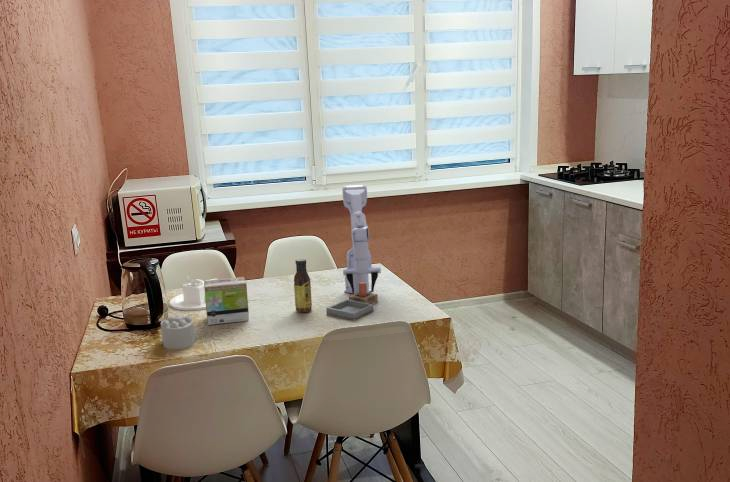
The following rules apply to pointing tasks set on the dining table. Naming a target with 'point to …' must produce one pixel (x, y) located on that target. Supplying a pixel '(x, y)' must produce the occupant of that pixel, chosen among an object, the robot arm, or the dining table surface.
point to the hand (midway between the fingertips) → (362, 291)
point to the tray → (350, 309)
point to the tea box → (226, 300)
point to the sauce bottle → (302, 287)
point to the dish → (191, 296)
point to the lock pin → (362, 289)
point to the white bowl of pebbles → (178, 332)
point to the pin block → (365, 298)
